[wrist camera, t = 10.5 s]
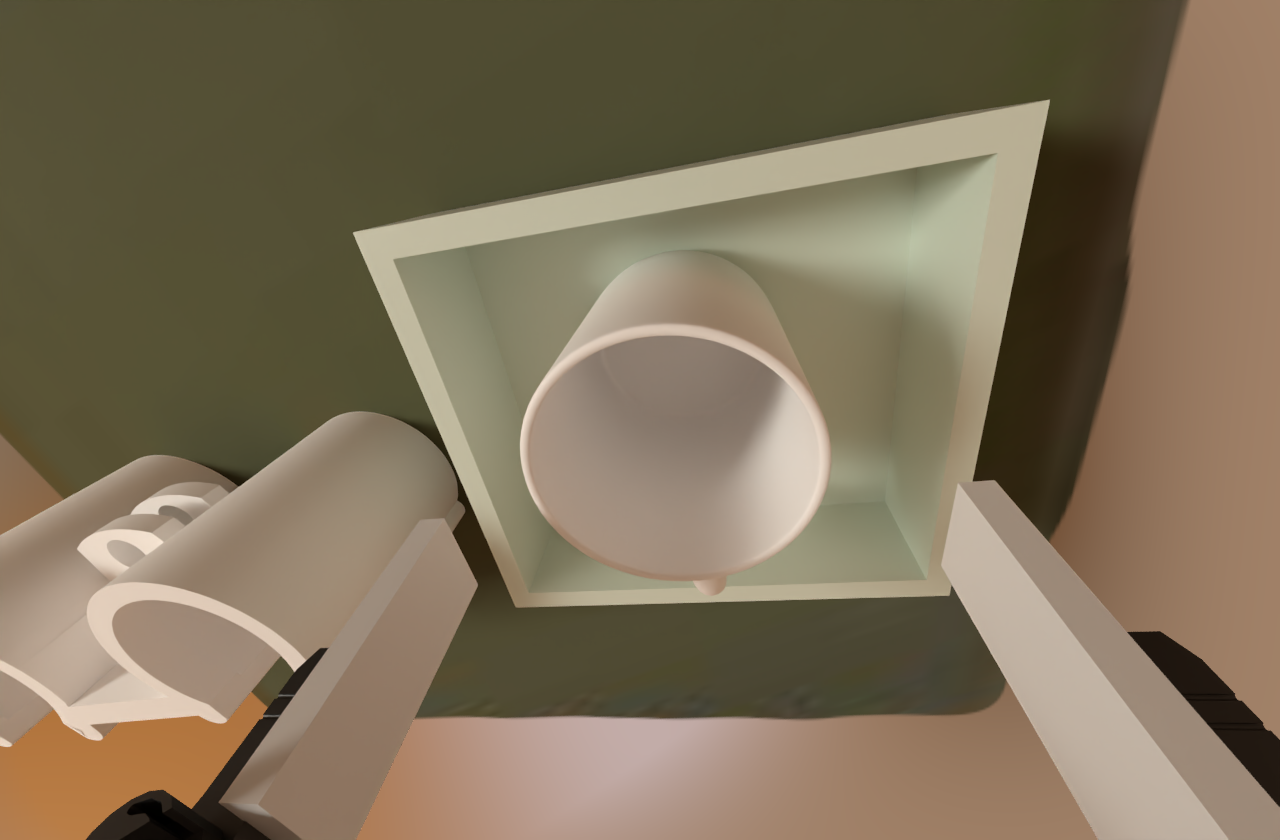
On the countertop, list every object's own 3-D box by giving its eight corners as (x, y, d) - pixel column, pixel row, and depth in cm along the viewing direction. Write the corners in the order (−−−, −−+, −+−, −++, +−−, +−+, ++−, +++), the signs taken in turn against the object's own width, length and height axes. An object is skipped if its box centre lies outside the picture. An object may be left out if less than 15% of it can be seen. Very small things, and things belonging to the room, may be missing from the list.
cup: (763, 223, 19) (820, 287, 10) (792, 468, 24) (846, 650, 15) (568, 271, 20) (469, 362, 12) (636, 490, 26) (605, 663, 17)
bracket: (403, 384, 25) (195, 549, 15) (484, 520, 30) (368, 723, 19) (90, 470, 31) (-216, 632, 21) (196, 573, 36) (-14, 750, 25)
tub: (440, 211, 21) (352, 232, 15) (942, 115, 17) (1050, 99, 12) (548, 525, 29) (515, 607, 24) (898, 505, 25) (949, 595, 20)
